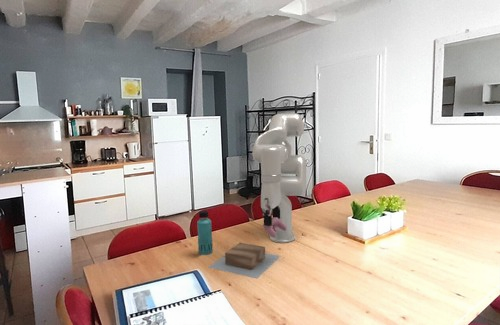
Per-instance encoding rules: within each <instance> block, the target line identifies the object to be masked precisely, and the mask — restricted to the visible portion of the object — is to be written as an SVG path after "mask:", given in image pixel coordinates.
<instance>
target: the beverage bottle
mask: <svg viewBox="0 0 500 325" xmlns="http://www.w3.org/2000/svg"><path fill="white" fill-rule="evenodd" d="M198 217H199V219H198V220H197V222H196V227H197V247H198V248H197V249H198V254H199V255H202V256H208V255H211V254H212V253H213V250H214V249H213V246H214V245H213V229H212V228H213V227H212V220H211V219H210V218H208V217H210V216H209V211H208V210H203V211H202V210H201V211H199V214H198Z"/></svg>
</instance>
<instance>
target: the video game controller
mask: <svg viewBox="0 0 500 325" xmlns="http://www.w3.org/2000/svg"><path fill="white" fill-rule="evenodd" d="M262 226H263V227H262V228H263V230H264V231H265V232H266V233H267V234H268V235H269V237H270V236H272V237H275V236H276V234H275V232H276V231H278V227H279V228H280V229H282V230H284V231H286V230H287V228H286V226H285V225H284V224H283V223H282V222H281V220H280V219H278V218H277V217H276V218H273V217H272V226H266V225H264V223H263V224H262ZM274 231H275V232H274Z"/></svg>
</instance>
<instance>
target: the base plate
mask: <svg viewBox="0 0 500 325" xmlns="http://www.w3.org/2000/svg"><path fill="white" fill-rule="evenodd" d="M281 257H282V255H279V254H272V253H267V252H265V259H264V260H263V261H262V262H261V263H259V264H258V265H257V266H256V267H255V268H254V269H253V270H248V269H244V268H239V267H235V266H230V265H226V263H225V255H224V256H222V257H221V258H219V259H218V260H217V261H215V262H214V263H212V264H211V265H209V266H208V268H209V269H213V270H217V271H222V272H227V273H231V274H235V275H240V276H244V277H249V278H253V279H258V278H260V277H261V275H263V274H264V273H265V272H266V271H267V270H268V269H269V268H270V267H272V265H273V264H274V263H275V262H277V261H278V260H279V259H280V258H281Z"/></svg>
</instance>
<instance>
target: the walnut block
mask: <svg viewBox="0 0 500 325" xmlns="http://www.w3.org/2000/svg"><path fill="white" fill-rule="evenodd" d="M265 253H266V246H263V245H262V246H261V245H257V244H256V245H255V244H250V243H244V242H239V243H237V244H235V245H234V246H232V247H231V248H230V249H228V250H227V251H225V253H224V256H225V263H226V265H230V266H235V267H239V268H244V269H248V270H253V269H254V268H255V267H256V266H257V265H258V264H259V263H261V262H262V261H263V260H264V259H265Z"/></svg>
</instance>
